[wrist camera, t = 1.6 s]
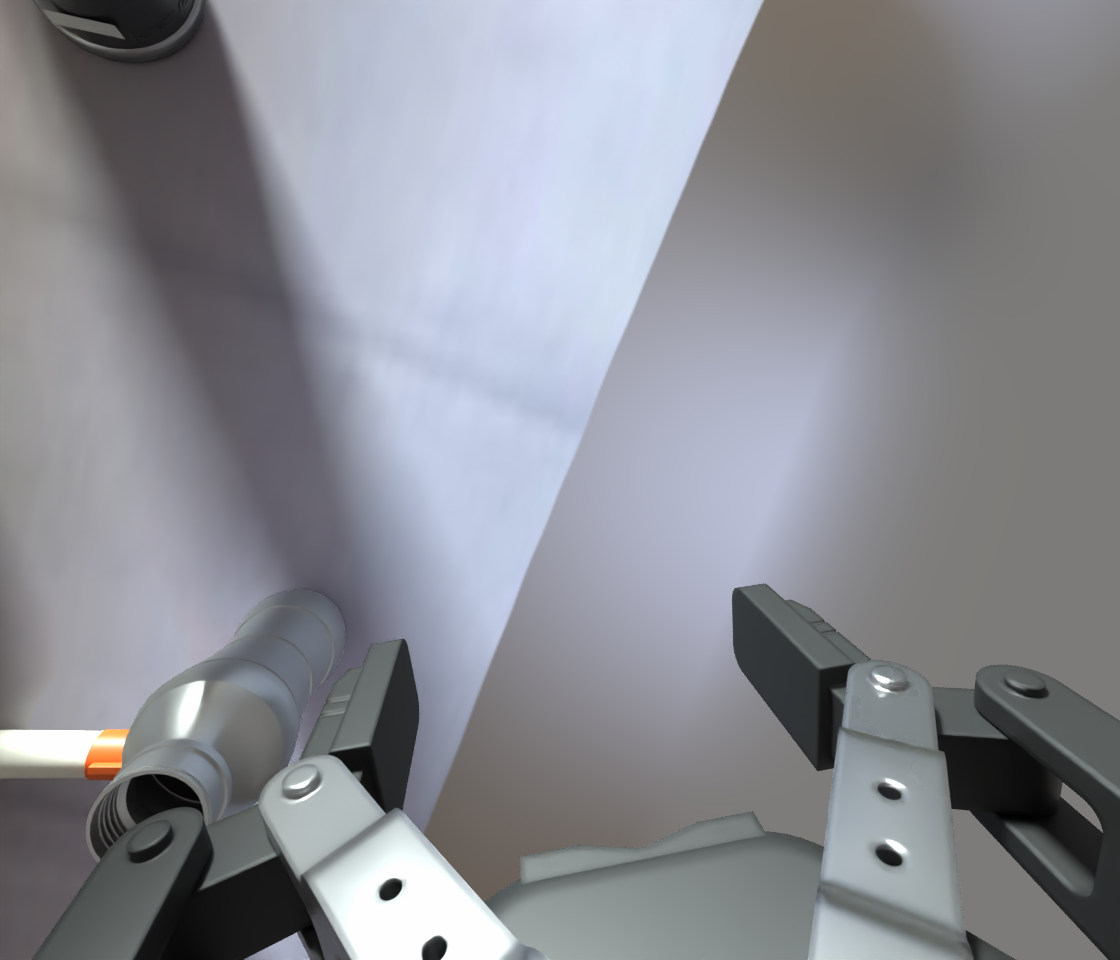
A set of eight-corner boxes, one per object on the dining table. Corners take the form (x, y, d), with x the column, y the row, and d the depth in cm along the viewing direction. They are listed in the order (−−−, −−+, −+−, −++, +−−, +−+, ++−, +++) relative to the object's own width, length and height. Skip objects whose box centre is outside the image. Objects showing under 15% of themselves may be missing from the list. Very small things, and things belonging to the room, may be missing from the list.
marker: (-122, 763, 32) (-183, 796, 29) (-117, 717, 32) (-178, 745, 29) (175, 764, 36) (150, 794, 33) (180, 722, 36) (155, 748, 33)
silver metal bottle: (365, 597, 38) (286, 747, 19) (331, 689, 38) (215, 939, 18) (270, 569, 37) (76, 699, 17) (234, 665, 36) (-4, 907, 17)
